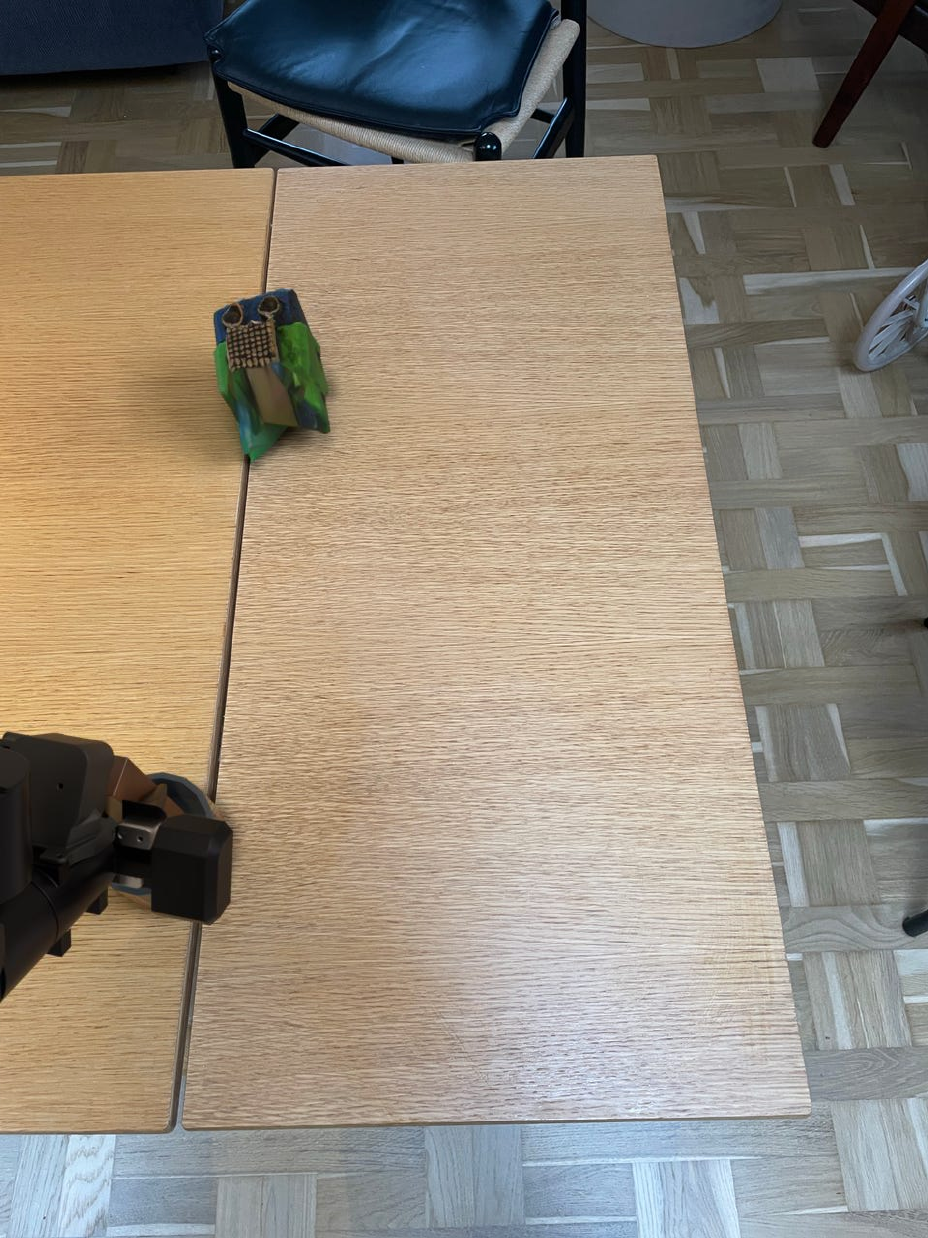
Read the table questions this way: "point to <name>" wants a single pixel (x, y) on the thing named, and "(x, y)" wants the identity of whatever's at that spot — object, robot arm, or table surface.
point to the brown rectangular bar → (130, 788)
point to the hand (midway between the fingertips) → (145, 786)
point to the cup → (187, 801)
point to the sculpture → (269, 369)
